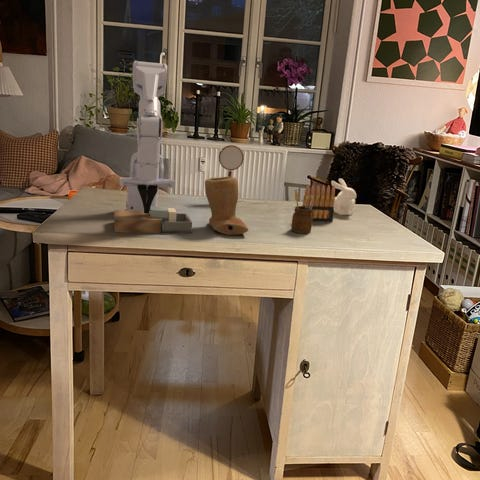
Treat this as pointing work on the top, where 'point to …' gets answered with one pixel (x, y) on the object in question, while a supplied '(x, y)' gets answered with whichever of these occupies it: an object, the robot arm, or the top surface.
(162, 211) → the tile slate
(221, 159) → the magnifying glass
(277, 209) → the top surface
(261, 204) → the top surface
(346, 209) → the rabbit
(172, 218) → the tile cream
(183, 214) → the bin
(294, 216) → the utensil holder
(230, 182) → the tan suede boot
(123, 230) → the walnut plate
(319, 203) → the ammunition clip
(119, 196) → the top surface
